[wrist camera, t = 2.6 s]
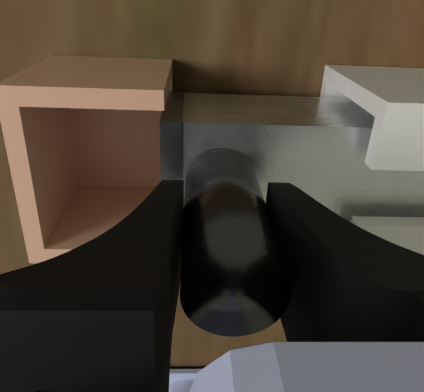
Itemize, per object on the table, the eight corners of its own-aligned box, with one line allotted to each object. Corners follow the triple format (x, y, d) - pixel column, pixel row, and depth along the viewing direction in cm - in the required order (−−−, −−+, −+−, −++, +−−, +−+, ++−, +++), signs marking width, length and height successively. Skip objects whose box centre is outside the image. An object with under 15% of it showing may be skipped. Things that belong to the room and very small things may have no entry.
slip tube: (426, 188, 19) (624, 360, 10) (167, 183, 18) (145, 362, 10) (453, 99, 17) (726, 219, 8) (167, 90, 16) (137, 210, 8)
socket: (172, 193, 20) (166, 264, 15) (71, 191, 19) (29, 263, 14) (172, 59, 17) (163, 90, 12) (53, 54, 16) (-8, 85, 11)
